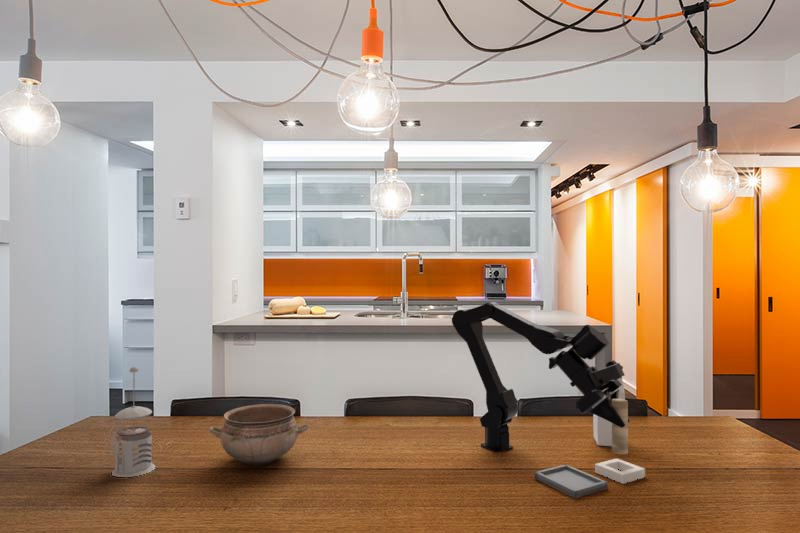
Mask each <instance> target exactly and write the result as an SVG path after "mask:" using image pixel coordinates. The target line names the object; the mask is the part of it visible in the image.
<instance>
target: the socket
mask: <svg viewBox="0 0 800 533" xmlns="http://www.w3.org/2000/svg"><path fill="white" fill-rule="evenodd" d="M618 469H619V470H618ZM620 470H621V471H620ZM594 473H595V474H598V475H600V476H602V475H603V477H605V478H607V477H608V479H610V480H612V481H614V480H615V482H617V483H619V482H620V484H622V485H624V484H627V482H628V483H631V482H634V481H637V479H638V480H641V479H644V477H645V478H646V468H644V467H642V466H639V465H636V464H633V463H631V462H628V461H625V460H622V459H620V458H618V457H617V458H612V459H609V460H605V461H602V462H597V463H594Z"/></svg>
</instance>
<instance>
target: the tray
mask: <svg viewBox="0 0 800 533" xmlns="http://www.w3.org/2000/svg"><path fill="white" fill-rule="evenodd" d="M534 479H535V480H537V481H538V482H541V483H543V484H545V485H548V486H549V487H551V488H553V489H556V490H557V491H559V492H562V493H563V494H565V495H567V496H570V497H571V498H573V499H578V498H581V497H584V496H588V495H591V494H594V493H599V492H601V491H605V490H608V489H609V488H608V481H606V480H604V479H602V478H599V477H597V476H595V475H592V474H589V473H588V472H586V471H583V470H580V469H578V468H576V467H574V466H572V465H568V463H567V464H561V465H557V466H554V467H550V468H545V469H542V470H538V471H534Z"/></svg>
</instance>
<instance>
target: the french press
mask: <svg viewBox="0 0 800 533" xmlns="http://www.w3.org/2000/svg"><path fill="white" fill-rule="evenodd" d="M137 372H139V368H138V367H137V366H131V367H130V368H129V373H133V380H132V381H133V384H132V385H133V390H132V391H133V395H132V397H133V400H132V402H133V405H132V406H129V407H126V408H124V409H122V410H120V411H118V412H117V413H116V414H115V415H114V417H115V418H116V420H121V421H128V420H129V421H130V420H132V424H133V425H132V426H127V427H125V425H124V424H122V423H121V424H120V425H119V424H118V423H115V424H114V425H113V426H112V427H111V429H110V430H109V432H108V434H107V439H106V440H107V441H106V445H107V446H106V447H107V450H108V451H109V453H110V454H111V455H113V456H114V457H115V459H114V461H115V462H114V465H115V467H114V469H113V470H112V471H111V472H112V475H114V476H117V477H132V476H138V477H140V476H139V475H142V476H144V475H143V474H145V475H147V474H146V473H148V474H150V473H152V472H153V471H155V470H154V469H156V468H157V466H156V465H155V464H154V462H152V459H153V458H152V443H153V442H152V441H153V440H152V438H153V437H152V436H153V435H152V433H151V432H149V431H150V430H151V428H150V427H149V426H147V425H135V420H136V419H137V420H138V419H142V418H146V417H148V416H151V414H152V413H153V411H152V409H150V408H148V407H145V406H144V407H143V406H136V405H135V377H136V376H135V373H137ZM115 426H116V428H117V429H116V430H115V432H114V433H113V438H112V449H113V451H114V453H113V452H112V451H111V449H110V445H109V439H110V436H111V433H112V430H113V429H114V427H115ZM116 434H117V437H116ZM120 441H121V442H120ZM120 446H121V447H120ZM155 467H156V468H155ZM152 470H153V471H152ZM151 471H152V472H151ZM149 472H150V473H149Z"/></svg>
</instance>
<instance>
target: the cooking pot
mask: <svg viewBox="0 0 800 533" xmlns="http://www.w3.org/2000/svg"><path fill="white" fill-rule="evenodd" d="M295 413H296V409H295V408H293V407H292V406H289V405H285V404H278V403H276V404H274V403H263V404H252V405H245V406H238V407H235V408H233V409H230V410H228V411H226V412H225V413H224V414H223V418H224V419H225V421H224V424H223V427H222V428H219V427H216V426H211V427H209V429H208V431H209V433H210V434H212V435H213V436H215V437H216V438H218V439H220V443H221V446H222V448H223V450H224V451H225V453H226V454H227V455H228V456H229V457H231V458H233V459H235V460H238V461H239V462H241V463H244V464H247V465H248V466H251V465H252V466H253V467H260V466H261V465H262V466H265V465H266V464H267V465H269V463H270V464H271V462H272V463H273V462H274V461H275V460H277V459H279V458H281V457H283V456H284V455H285V454H287V453H288V452H289V451H291V449H292V448H293V447H294V445H295V444H296V442H297V440H298V436H299V435H300V434H302V433H304V432H306V431H308V429H310V427H311V424H309V423H307V424H303V425H298V424H297V421H296V419H295V416H294V415H295Z"/></svg>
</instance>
